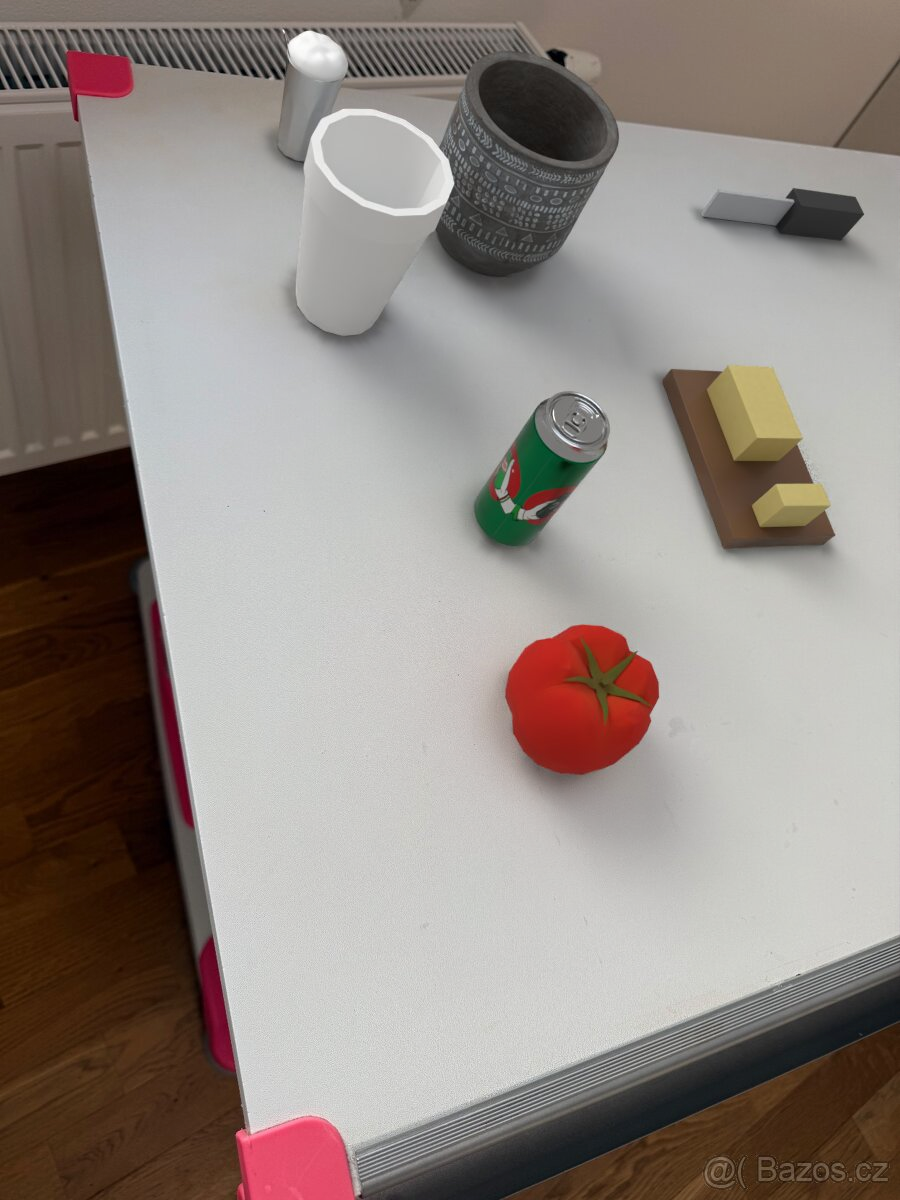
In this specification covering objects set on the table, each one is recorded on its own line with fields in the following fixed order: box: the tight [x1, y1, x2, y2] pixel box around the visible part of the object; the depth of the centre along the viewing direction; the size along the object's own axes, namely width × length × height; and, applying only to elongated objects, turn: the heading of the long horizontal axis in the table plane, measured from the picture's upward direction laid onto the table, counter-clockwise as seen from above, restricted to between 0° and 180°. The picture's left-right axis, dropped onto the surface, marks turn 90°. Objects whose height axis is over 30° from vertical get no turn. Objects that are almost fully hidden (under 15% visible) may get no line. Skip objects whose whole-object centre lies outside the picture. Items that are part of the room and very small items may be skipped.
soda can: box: [473, 390, 611, 547], centre depth 64 cm, size 5×5×12 cm
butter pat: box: [752, 483, 832, 527], centre depth 75 cm, size 4×2×3 cm, turn 103°
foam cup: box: [295, 108, 454, 337], centre depth 67 cm, size 10×9×13 cm
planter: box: [435, 50, 620, 278], centre depth 76 cm, size 12×12×13 cm
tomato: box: [504, 623, 660, 776], centre depth 60 cm, size 9×9×8 cm
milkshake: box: [277, 29, 349, 162], centre depth 74 cm, size 5×5×10 cm
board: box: [661, 368, 836, 549], centre depth 79 cm, size 10×16×2 cm, turn 13°
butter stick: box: [707, 364, 804, 461], centre depth 78 cm, size 4×7×3 cm, turn 13°
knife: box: [700, 187, 865, 241], centre depth 95 cm, size 17×2×4 cm, turn 103°
